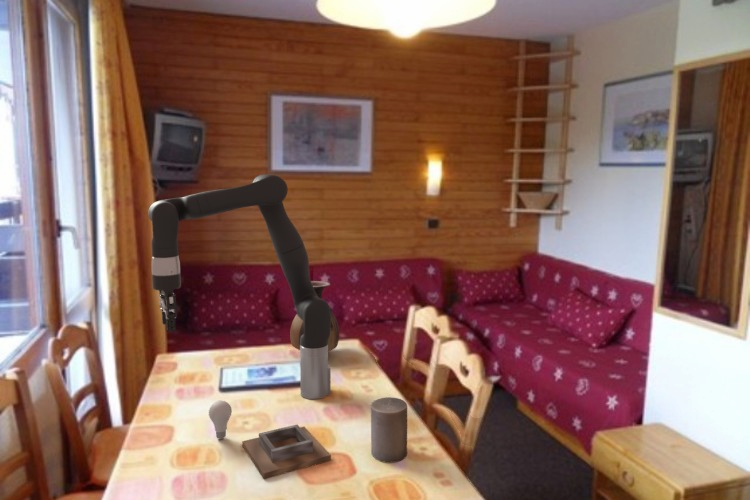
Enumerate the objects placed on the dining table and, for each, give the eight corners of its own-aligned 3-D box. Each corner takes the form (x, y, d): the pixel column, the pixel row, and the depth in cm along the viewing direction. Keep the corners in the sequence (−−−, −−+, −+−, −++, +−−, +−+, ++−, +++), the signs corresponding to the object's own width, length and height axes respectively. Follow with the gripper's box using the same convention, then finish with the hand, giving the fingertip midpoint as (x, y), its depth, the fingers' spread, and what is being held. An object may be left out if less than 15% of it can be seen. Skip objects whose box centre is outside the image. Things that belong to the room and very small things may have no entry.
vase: (315, 369, 204) (315, 291, 200) (277, 359, 215) (276, 285, 210) (351, 353, 223) (351, 281, 219) (314, 344, 234) (314, 276, 230)
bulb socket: (304, 431, 156) (304, 416, 156) (330, 460, 141) (330, 444, 140) (242, 446, 148) (242, 430, 147) (263, 479, 132) (263, 461, 132)
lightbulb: (226, 445, 148) (224, 407, 147) (205, 443, 149) (204, 405, 148) (236, 434, 154) (235, 397, 152) (216, 432, 155) (215, 395, 154)
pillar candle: (411, 447, 148) (411, 395, 146) (401, 465, 139) (401, 409, 137) (377, 442, 151) (377, 390, 149) (365, 459, 142) (365, 404, 140)
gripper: (184, 275, 150) (187, 332, 152) (175, 266, 162) (178, 319, 164) (155, 277, 146) (158, 336, 148) (148, 269, 158) (151, 323, 161)
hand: (168, 327), depth 156 cm, fingers open, 8 cm apart
